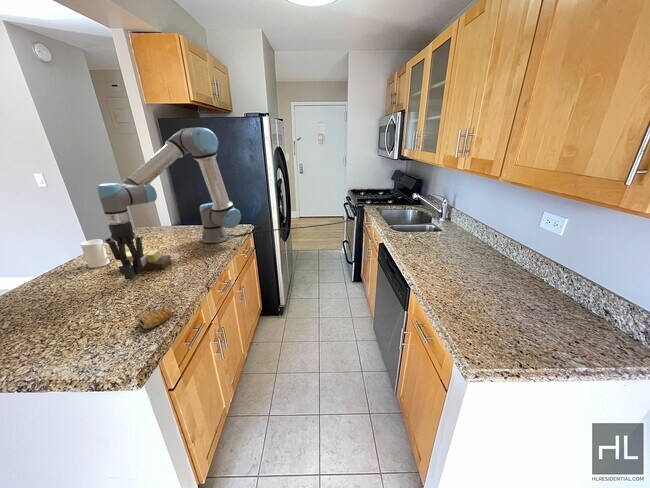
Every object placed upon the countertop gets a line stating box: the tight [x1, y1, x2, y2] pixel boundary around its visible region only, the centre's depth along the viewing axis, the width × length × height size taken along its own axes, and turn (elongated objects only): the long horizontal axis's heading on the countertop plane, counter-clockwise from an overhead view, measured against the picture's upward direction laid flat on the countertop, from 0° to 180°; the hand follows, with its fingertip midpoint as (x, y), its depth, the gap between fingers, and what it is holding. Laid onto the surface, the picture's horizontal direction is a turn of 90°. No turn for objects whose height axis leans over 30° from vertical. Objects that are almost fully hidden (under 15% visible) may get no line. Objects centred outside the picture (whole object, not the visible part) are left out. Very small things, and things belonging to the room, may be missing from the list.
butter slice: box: [147, 249, 161, 263], centre depth 127 cm, size 3×6×4 cm, turn 9°
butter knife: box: [122, 249, 153, 280], centre depth 120 cm, size 2×23×5 cm, turn 9°
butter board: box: [117, 254, 172, 273], centre depth 128 cm, size 19×10×3 cm, turn 99°
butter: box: [120, 250, 150, 264], centre depth 126 cm, size 10×6×4 cm, turn 99°
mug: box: [80, 238, 114, 269], centre depth 128 cm, size 12×8×12 cm
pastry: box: [138, 308, 173, 330], centre depth 88 cm, size 9×7×4 cm
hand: (134, 273), depth 115 cm, fingers closed on butter knife, 2 cm apart
